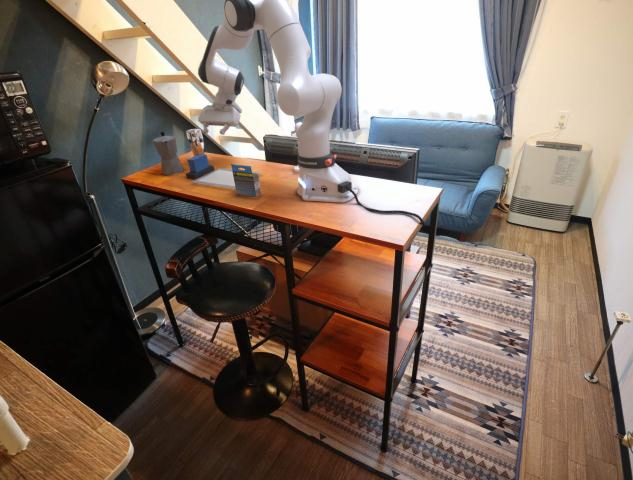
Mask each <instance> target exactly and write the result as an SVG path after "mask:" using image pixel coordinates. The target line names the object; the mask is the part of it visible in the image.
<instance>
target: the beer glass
mask: <svg viewBox="0 0 633 480" xmlns="http://www.w3.org/2000/svg"><path fill="white" fill-rule="evenodd" d="M185 133H186V139H187V142H188V146H189V148H190V150H191V153H192V157H194V156H197V155H199V154H205V142H204V137H203V132H202V130H201V128H192V129H187V130H186V131H185Z"/></svg>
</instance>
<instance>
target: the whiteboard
mask: <svg viewBox="0 0 633 480" xmlns="http://www.w3.org/2000/svg"><path fill="white" fill-rule="evenodd" d="M252 173H256V174H258V175H260V174H261V172H254V171H252ZM192 183H194V184H200V185H208V186H215V187H219V188H220V187H221V188H226V189H233V190H236V187H235V182H234V177H233V172H232V168H231V169H230V168H222V167H220V168H217V169H215V170H214V171H212V172H210V173H208V174H206V175H204V176H202V177H200V178H198V179H196V180H195V179H194V180H193V181H192Z"/></svg>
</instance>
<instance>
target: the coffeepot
mask: <svg viewBox="0 0 633 480" xmlns="http://www.w3.org/2000/svg"><path fill="white" fill-rule="evenodd" d="M152 143H153V145H154V146H155V149H156V151H157V155H159V156H160V158H161V159H160V163H161V164H160V165H161V173H162V175H163V176H173V175H176V174H180V173H183V172H184V167H183V164H182V162H181V160H180V158H179V156H178V155H177V153H178V146H177V138H176V136H173V135H165V131H161V132H160V136H158V137H155V138H154V139H153V140H152Z"/></svg>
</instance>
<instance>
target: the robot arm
mask: <svg viewBox="0 0 633 480" xmlns="http://www.w3.org/2000/svg"><path fill="white" fill-rule="evenodd" d="M223 5H224V7H223V9H224V12H223V19H222V23H221V24H220V25H216V26H214V27H213V29H212V31H211V33H210V36H209V38H208V41H207V44H206V47H205V49H204V53H203V56H202V59H201V61H200V62H199V64H198V67H197V76H198V77H199V79H200V80H201V82H202V83H204V84H208V85H211V86H214V87H215V88H217V89H218V90H217V92H216V93H215V95H214V98H213V101H212V104H211V105H210V104H207V105H206V106H204V107H203V108H201V109H202V110H201V111H200V113H199V115H198V117H197V121H198V122H199V123H200V124H201V125H202V127H203V129H202V133H203V134H209V129H208V128H209V127H210V126H215V127H222V128H221V129H219V134H220V136H221V135H222V136H223V135H225V134H226V132H227V131H228V130H229V129H230V127H234V128H235V127H237V126H238V125H239V122H240V120H241V114H242V112H243V109H242V108H241V106H239V104H238V103H237V102H236V99H237V98H238V96H239V95H241V93H242V90H243V88H244V84H245V78H244V75H243V73H242V72H241V71H240V70H239V69H237V68H235V67H232V66H230V65H227V64H225V63H223V62H221V61H219V60H217V59H216V58H215V57H216V54H217V52H218V50H230V51H242V50H244V49H246V48H248V47H249V45H250V44H251V43H252V39H253V36H254V32H255V31H264V32H265V34H266V37H267V40H268V42H269V45H270V47H271V49H272V52H273V54H274V56H275V59H276V62H277V65H278V69H279V72H280V73H279V74H280V84H279V86H278V89H277V92H276V101H277V106H278V107H279V109H280V110H281V112H282V113H283V114H285V115H287V116H292V117H293V116H294V117H300V116H301V117H302V116H303V119H302V122H301V123H302V124H301V126H300V127H299V129H298V131H297V132H296V139H297V151H298V153H297V165H298V166H299V173H298V174H299V175H298V176H299V177H298V178H297V179H298V186H297V190H296V192H297V194H298V195H299V196H300V197H301V199H302V201H306V202H321V203H322V202H326V203H343V204H344V203H346V202H349V201H351V200H353V199H354V200H355V202H356V203H357V204H358V206H360V207H362V208H363V209H364V210H366V211H369V212H373V213H378V214H404V215H408V216H412V217H416V218H417V219H418V220H419V221H420V223H421V224H422V226H427V224H426V222H425V221H424V219H423V218H422V217H421V216H420V215H419V214H418V213H415V212H410V211H407V210H397V209H396V210H382V209H376V208H372V207H371V208H370V207H367V206H365V205H363V204H362V203H361V201H359V198H358V194H359V193H358V192H359V187H358V186H357V185H354V184H353V182H352V178H351V175H350V174H349V173H348V172H347V171H346V170H344V169H343V168H342V167H341V166H340V165H338V164H337V163H336V159H337V158H338V157H337V154H334V155H333V154H332V152H331V149H330V147H331V145H330V143H331V141H330V140H331V139H330V133H331V131H330V130H331V124H332V119H333V116H334V115H333V114H334V111H335V108H336V106H337V103H338V102H339V100H340V99H341V97H342V92H343V89H342V84H341V81H340V80H339V78H338V77H336V75H333V74H330V73H323V72H322V73H321V72H320V73H316V74H311V73H310V70H309V59H310V57H311V53H312V52H311V51H312V49H311V46H310V43H309V41H308V38H307V36H306V34H305V31H304V29H303V27H302V24H301V22H300V20H299V18H298V16H297V14H296V11H295V10H294V8H293V6H292V3H290V1H289V0H225V1H224V4H223ZM429 259H430V258H425V267H424V277H423V286H422V292H421V298H420V304H419V310H418V318H417V326H418V327H420V326H421V321H422V312H423V307H424V306H423V305H424V301H425V300H424V299H425V293H426V287H427V279H428V272H429V261H430V260H429Z"/></svg>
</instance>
